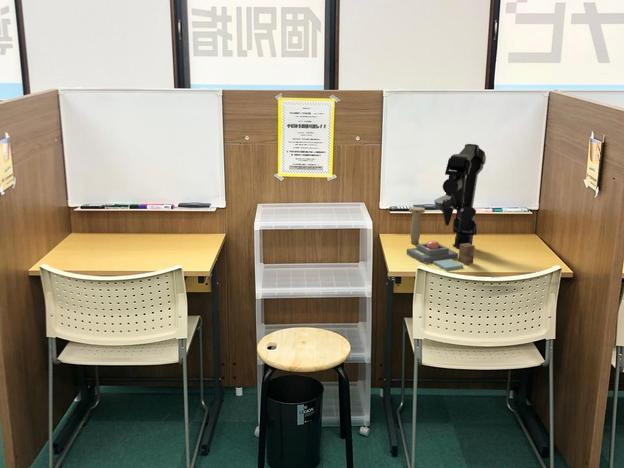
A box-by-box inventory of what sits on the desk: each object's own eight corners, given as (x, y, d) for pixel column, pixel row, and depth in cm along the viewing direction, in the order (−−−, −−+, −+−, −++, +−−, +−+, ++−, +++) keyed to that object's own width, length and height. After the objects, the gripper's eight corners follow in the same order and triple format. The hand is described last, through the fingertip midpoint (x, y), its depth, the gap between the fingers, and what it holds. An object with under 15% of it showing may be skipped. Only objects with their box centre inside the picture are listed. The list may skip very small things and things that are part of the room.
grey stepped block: (439, 249, 275) (440, 240, 274) (457, 258, 264) (458, 248, 263) (406, 253, 268) (407, 244, 267) (423, 263, 258) (424, 253, 257)
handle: (422, 245, 280) (425, 210, 275) (407, 244, 280) (409, 209, 276) (422, 241, 284) (424, 207, 280) (406, 241, 285) (409, 206, 281)
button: (433, 249, 269) (434, 240, 268) (440, 252, 265) (440, 243, 264) (424, 250, 267) (425, 241, 266) (430, 253, 263) (431, 244, 262)
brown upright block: (466, 260, 263) (468, 242, 261) (473, 263, 259) (474, 245, 257) (458, 261, 261) (459, 244, 259) (464, 264, 258) (466, 247, 256)
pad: (450, 261, 261) (450, 258, 260) (462, 267, 254) (463, 265, 253) (432, 263, 257) (433, 261, 257) (445, 270, 251) (445, 267, 250)
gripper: (425, 185, 259) (422, 224, 263) (452, 196, 242) (449, 237, 247) (450, 183, 263) (447, 221, 268) (478, 194, 246) (474, 234, 251)
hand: (453, 228), depth 258 cm, fingers open, 9 cm apart
